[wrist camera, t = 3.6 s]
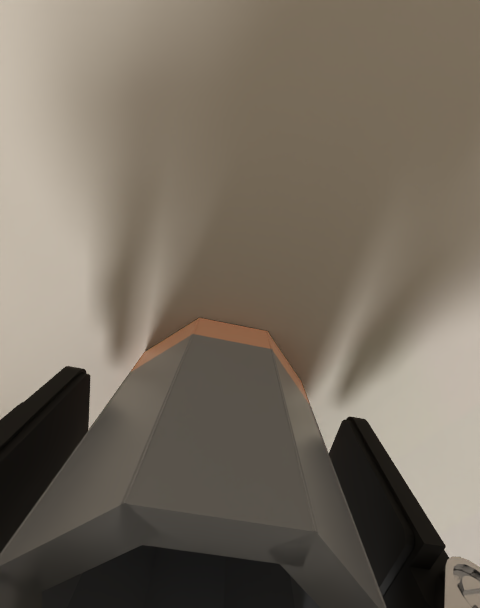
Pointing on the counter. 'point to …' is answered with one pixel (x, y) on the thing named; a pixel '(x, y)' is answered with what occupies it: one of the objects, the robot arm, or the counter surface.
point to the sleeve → (195, 493)
